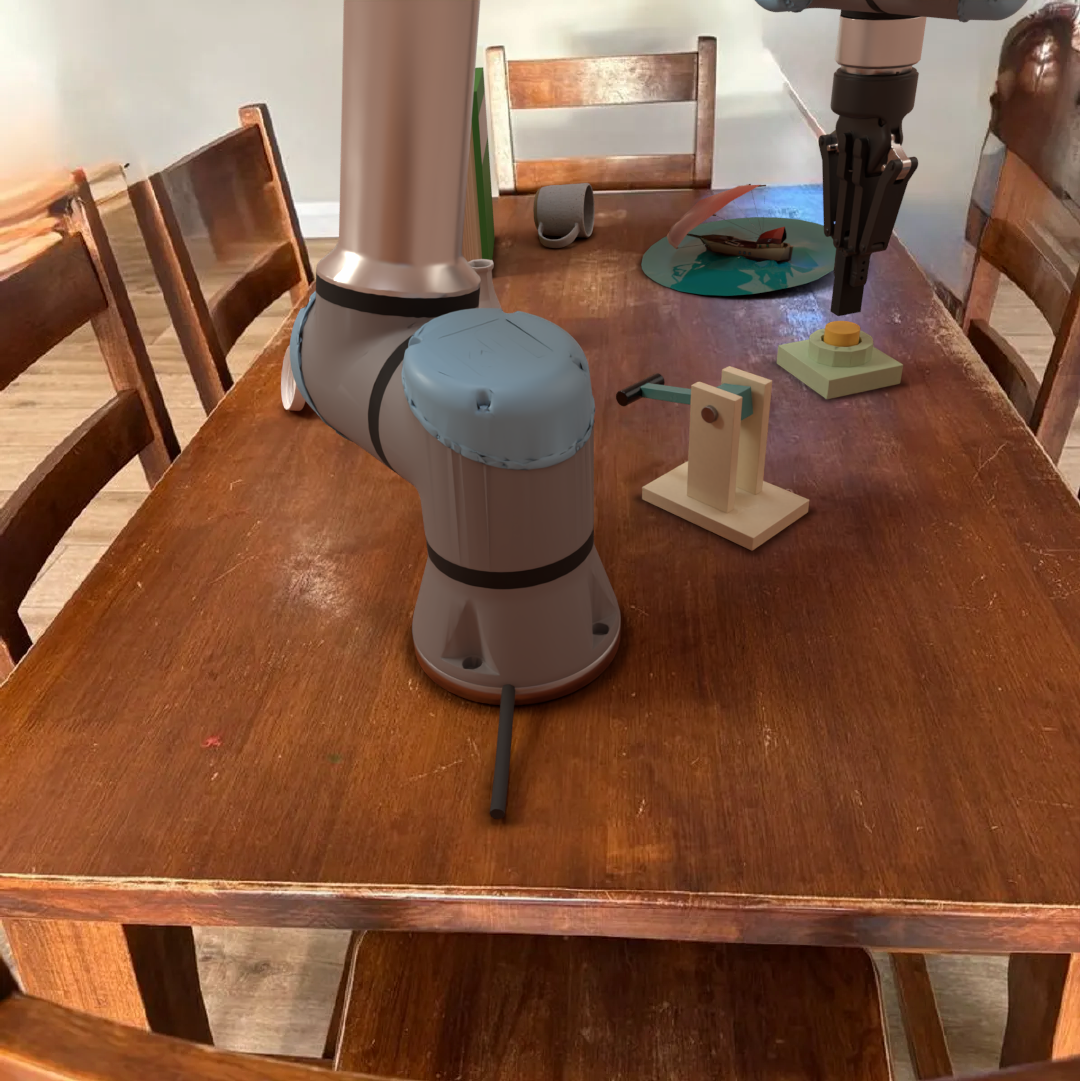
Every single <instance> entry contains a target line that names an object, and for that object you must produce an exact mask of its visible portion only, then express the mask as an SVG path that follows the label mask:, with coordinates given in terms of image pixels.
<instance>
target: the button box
mask: <svg viewBox="0 0 1080 1081" xmlns="http://www.w3.org/2000/svg"><path fill="white" fill-rule="evenodd" d="M824 333H825V327H824V328H820V329H817V330H815V331H814V332H812V333H811V334H809V338H807V339H803V340H799V341H793V342H787V343H783V344H778V346H777V355H776V364H777V365H778V366H779V367H781V368H782V369H784V370H785V371H786V372H787V373H789V374H791V375H792V376H793V377H795V378H796V379H797V380H798V381H800V382H802V383H803V384H804V385H806V386H808V387H809V389H812V390H813V391H814V392H815V393H817V394H818V395H820V396H821V397H822V398H824V399H825V400H830V399H836V398H840V397H845V396H849V395H854V394H859V393H863V392H868V391H873V390H877V389H882V388H886V387H891V386H895V385H900V384H901V381H902V375H903V369H904V364H903V363H901V362H900V361H898V360H896V359H895V358H893V357H892V356H890V355H888V354H886V353H884V352H883V351H882V350H879V349H878V348H877V347H875V346H874V345H875V344H874V339H873V336H871V335H870V334H868V333H867V332H865V331H864V330H860V336H859V343H858V345H855V346H850V347H836V346H832V345H828V344H826V343H825V342H823V341H824Z"/></svg>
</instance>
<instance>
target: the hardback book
mask: <svg viewBox="0 0 1080 1081" xmlns="http://www.w3.org/2000/svg"><path fill="white" fill-rule="evenodd" d="M484 72H485V71H484V67H482V66H480V67H475V80H474V93H473V107H472V120H471V134H470V148H469V161H468V175H467V188H466V202H465V216H464V229H463V243H462V254H463V257H464V258H465V259H466V260H467V262H469V261H471V260H477V259H487V260H493V257H494V249H495V241H496V239H495V238H496V235H495V220H494V205H493V191H492V190H493V189H492V177H491V162H490V159H491V158H490V147H489V146H490V145H489V131H488V130H489V129H488V116H487V103H486V88H485V87H486V86H485V73H484Z"/></svg>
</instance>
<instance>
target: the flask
mask: <svg viewBox="0 0 1080 1081" xmlns="http://www.w3.org/2000/svg"><path fill="white" fill-rule="evenodd" d="M468 263H469V264H470V265H471V266H472V268H473V269H474V270H475V271H476V273H477V274H478V275H479V276H480V279H481V286H480V298H479V308H499V309H502V310H503V308H502V306H501V303H500V301H499V298H498V296H497V293H496V290H495V286H494V283H493V270H494V266H495V265H494V261H493V259H492V260H487V259H477V260H471V261H469V262H468Z"/></svg>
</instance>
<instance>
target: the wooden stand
mask: <svg viewBox="0 0 1080 1081" xmlns="http://www.w3.org/2000/svg"><path fill="white" fill-rule="evenodd" d="M720 382H721V383H720V385H721V384H723V383H727V384H734V385H742V386H750V387H751V392H752V404H753V414H752V415H750V416H749V417H747V418H745V419H743V420H742V421H741V410H742V397H741V396H738V395H736V394H733V393H730V392H727V391H724V390H722V389H719V388H716V387H717V386H713V385H710V384H707V383H705V382H701V381H697V382H695V383H693V384H691V386H690V389H691V405H689V407H690V409H689V430H688V431H689V433H688V451H687V452H688V453H687V456H688V457H687V461H685V462H684V463H682V464H680V465H678V466H676V467H675V468H673V469H671V470H669V471H668V472H666V473H664V474H662V475H661V476H659V477H657V478H656V479H654V480H652V481H650V482H649V483H647V484H645V485H643V486H642V487H641V500H643V501H645V502H647V503H649V504H651V505H653V506H656V507H657V508H660V509H663V510H664V511H665V512H668V513H670V514H673V515H675V516H677V517H679V518H681V519H683V520H685V521H687V522H690V523H692V524H694V525H696V526H698V527H700V528H702V529H704V530H707V531H709V532H711V533H712V534H715V535H718V536H720V537H722V538H723V539H726V540H728V541H730V542H732V543H734V544H737V545H738V546H741V547H743V548H745V549H747V550H749V551H751V552H753V551H755V550H756V549H758V548H759V547H760V546H761V545H763V544H765V543H766V542H767V541H769V540H770V539H772V538H773V537H775V536H776V535H778V534H779V533H780V532H781V531H783V530H785V529H786V528H787V527H788V526H790V525H792V524H793V523H795V522H796V521H798V520H799V519H800V518H802V517H804V516H805V515H806V514H807V513H809V506H810V499H809V498H806V497H804V496H801V495H800V494H796V493H794V492H792V491H789V490H787V489H785V488H783V487H781V486H777V485H775V484H772V483H770V482H767V481H765V480H764V478H765V476H764V475H765V466H766V456H767V455H766V454H767V444H768V434H769V432H768V431H769V423H770V422H769V421H770V411H771V400H772V390H773V380H772V379H769V378H766V377H763V376H760V375H758V374H754V373H751V372H749V371H745V370H743V369H739V368H736V367H733V366H730V365H728V366H726V367H724V368H722V369H721V380H720Z"/></svg>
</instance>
